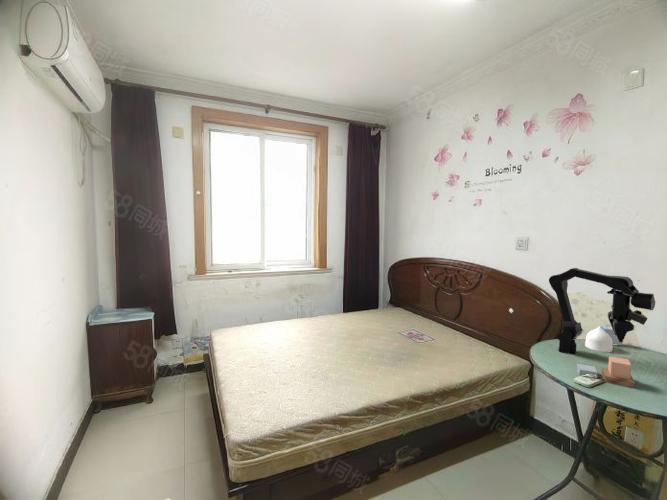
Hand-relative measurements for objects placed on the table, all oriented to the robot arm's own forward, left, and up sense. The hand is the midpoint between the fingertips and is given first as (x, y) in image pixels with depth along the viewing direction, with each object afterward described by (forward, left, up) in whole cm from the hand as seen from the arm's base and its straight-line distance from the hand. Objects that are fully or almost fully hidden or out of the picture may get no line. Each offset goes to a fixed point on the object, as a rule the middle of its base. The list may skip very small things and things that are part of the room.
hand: (618, 338), depth 140 cm
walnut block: (-2, -16, -14) cm, 21 cm away
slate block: (-12, -16, -13) cm, 24 cm away
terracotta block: (-2, -16, -10) cm, 19 cm away
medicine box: (+2, +31, -13) cm, 34 cm away
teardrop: (-4, +22, -13) cm, 26 cm away
